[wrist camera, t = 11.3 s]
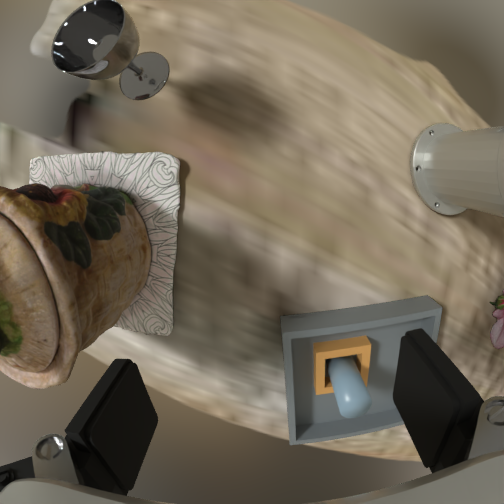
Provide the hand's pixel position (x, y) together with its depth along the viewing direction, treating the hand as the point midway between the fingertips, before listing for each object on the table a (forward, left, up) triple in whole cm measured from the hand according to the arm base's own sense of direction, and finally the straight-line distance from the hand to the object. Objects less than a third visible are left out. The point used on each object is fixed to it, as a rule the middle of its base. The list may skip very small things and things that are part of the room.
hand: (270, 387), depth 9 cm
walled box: (-12, +23, -28) cm, 38 cm away
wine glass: (+13, -22, -28) cm, 39 cm away
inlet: (-9, +20, -28) cm, 35 cm away
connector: (-9, +20, -27) cm, 35 cm away
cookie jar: (+23, -1, -29) cm, 37 cm away
